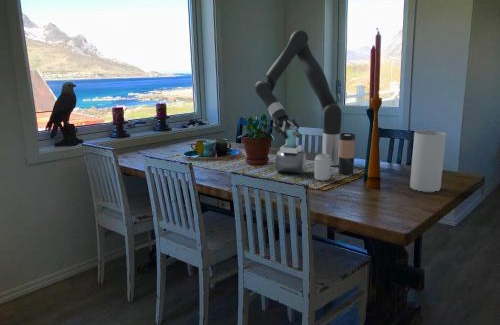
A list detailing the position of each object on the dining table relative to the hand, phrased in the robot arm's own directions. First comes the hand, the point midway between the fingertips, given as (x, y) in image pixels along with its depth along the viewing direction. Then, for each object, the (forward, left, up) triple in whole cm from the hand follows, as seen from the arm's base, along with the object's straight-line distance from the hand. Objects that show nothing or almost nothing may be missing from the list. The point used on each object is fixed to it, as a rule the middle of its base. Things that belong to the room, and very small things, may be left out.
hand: (293, 137), depth 210 cm
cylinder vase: (-63, +7, -18) cm, 66 cm away
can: (-17, +7, -18) cm, 26 cm away
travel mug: (-26, -8, -18) cm, 33 cm away
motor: (+1, -1, -18) cm, 18 cm away
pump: (0, 0, -6) cm, 6 cm away
